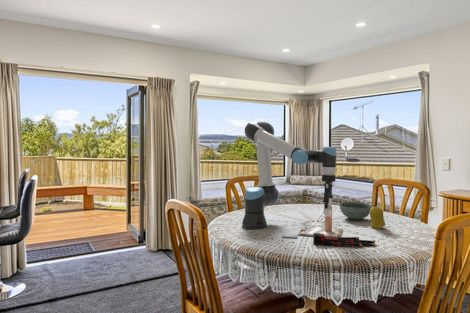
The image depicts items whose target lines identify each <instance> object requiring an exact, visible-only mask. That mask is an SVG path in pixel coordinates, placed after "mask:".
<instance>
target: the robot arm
mask: <svg viewBox="0 0 470 313" xmlns="http://www.w3.org/2000/svg"><path fill="white" fill-rule="evenodd" d="M244 135H245V137H246V138H247V139H248V140H250V141H252V142H253V145H255V146H256V157H257V159H256V160H257V171H258V172H257V173H258V174H257V175H258V184H257V185H256V186H254V187H249V188H247V189H246V190H245V191H244V216H243V218H242V222H241V224H242V225H241V226H242V228H244V229H248V230H249V229H250V230H261V229H265V228H267V227H268V223H267V219H266V216H265V207H268V206H269V207H270V206H273V205H275V204H277V202H278V201H279V199H280V192H279V190H278V188H276V184H275V183H274V181H273V173H272V172H273V171H272V159H271V158H272V156H271V150H273V151H275V152H278V154H281V155H283V156H285V157H286V158H289V159H290V160H292V161H293V163H295V164H296V165H306V164H321V173H322V174H321V182H325V184H324V195H323V200H322V203H323V215H325V214H329V206H332V203H333V202H332V199H334V196H333V183H335V182H336V180H337V178H336V177H337V175H336V172H337V171H338V168H337V147H335V146H324V147H322V149H302V148H301V147H298V146H296V145H294V144H292V143H290V142H288V141H287V140H284V139H282V138H280V137H278V136H276V135H275V128H274V126H273V125H272V124H271V123H269V122H266V121H250V122H248V123H247V124H246V125H245V127H244ZM332 207H333V206H332Z"/></svg>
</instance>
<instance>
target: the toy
mask: <svg viewBox="0 0 470 313" xmlns="http://www.w3.org/2000/svg"><path fill="white" fill-rule="evenodd" d="M312 238H313V242H312V243H313V245H314V246H325V245H334V246H342V247H357V248H363V247H369V246H376V247H377V244H376V241H375V240H368V239H360V237H359V236H351V237H349V236H348V237H346V236H345V237H344V236H342V237H329V236H324V234H320V233H314V237H312Z"/></svg>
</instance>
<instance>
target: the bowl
mask: <svg viewBox="0 0 470 313" xmlns="http://www.w3.org/2000/svg"><path fill="white" fill-rule="evenodd" d="M338 206H339V209H340V211H341V214H343V215H344V216H345V217H346V218H347V219H348V220H350V221H357V222H359V221H362V220H363V219H364V218H366V217H369V216H370V215H369V213H370V209H371V208H372V207H373V205H371V204H370V203H366V202H361V201H342V202H339V203H338Z"/></svg>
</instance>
